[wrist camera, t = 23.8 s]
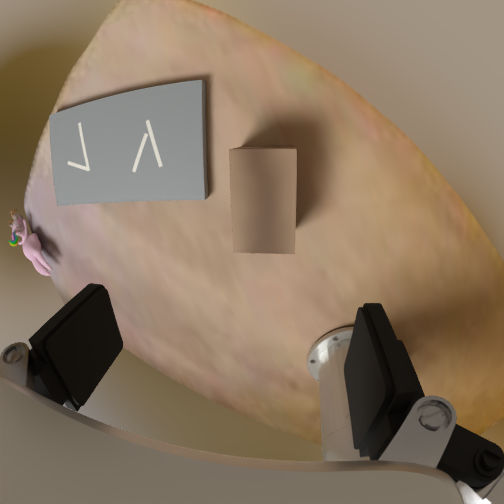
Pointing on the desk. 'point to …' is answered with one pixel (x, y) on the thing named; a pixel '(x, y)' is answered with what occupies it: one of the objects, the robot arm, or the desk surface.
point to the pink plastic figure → (28, 244)
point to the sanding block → (263, 199)
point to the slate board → (132, 147)
